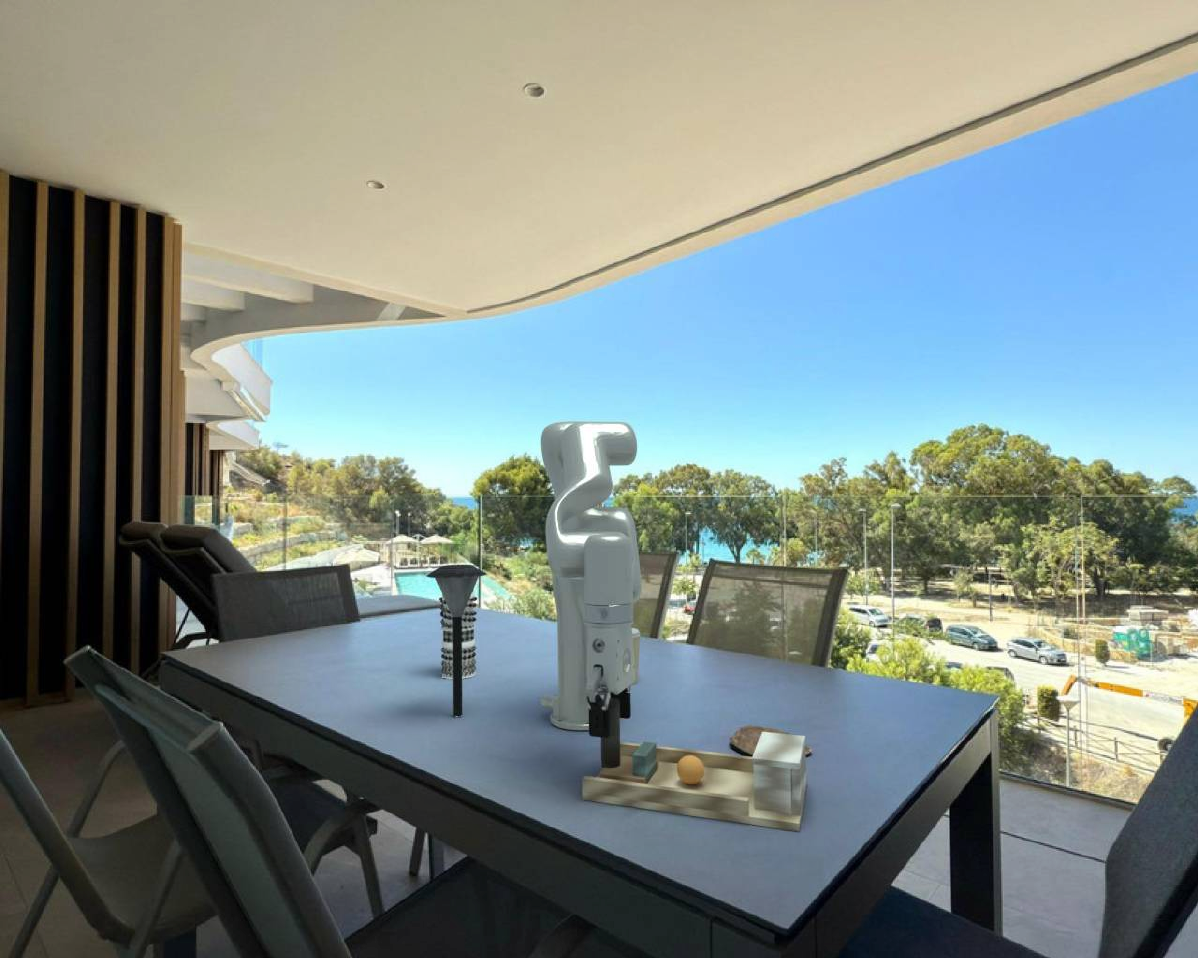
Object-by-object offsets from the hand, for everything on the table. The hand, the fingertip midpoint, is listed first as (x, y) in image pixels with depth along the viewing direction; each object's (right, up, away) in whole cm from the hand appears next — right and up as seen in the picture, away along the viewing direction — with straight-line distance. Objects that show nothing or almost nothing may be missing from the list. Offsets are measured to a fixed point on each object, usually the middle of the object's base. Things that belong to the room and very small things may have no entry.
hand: (610, 726), depth 106 cm
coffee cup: (+4, -10, +57) cm, 58 cm away
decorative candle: (-36, -11, +65) cm, 75 cm away
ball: (+12, -5, -4) cm, 13 cm away
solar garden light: (-30, -10, +32) cm, 45 cm away
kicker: (+2, -7, -1) cm, 7 cm away
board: (+13, -8, -5) cm, 16 cm away
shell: (+27, -9, +13) cm, 31 cm away
